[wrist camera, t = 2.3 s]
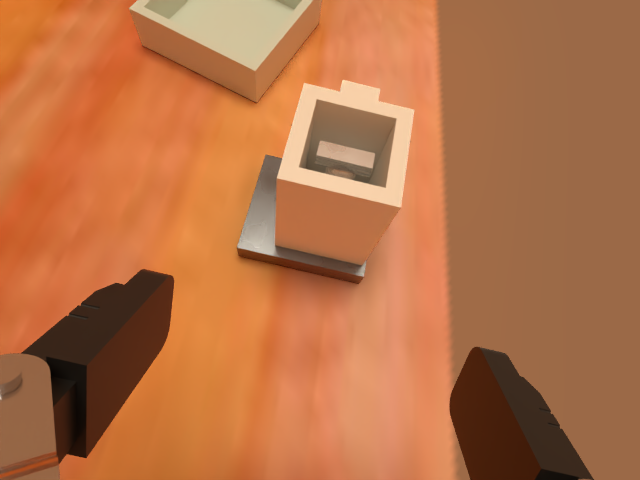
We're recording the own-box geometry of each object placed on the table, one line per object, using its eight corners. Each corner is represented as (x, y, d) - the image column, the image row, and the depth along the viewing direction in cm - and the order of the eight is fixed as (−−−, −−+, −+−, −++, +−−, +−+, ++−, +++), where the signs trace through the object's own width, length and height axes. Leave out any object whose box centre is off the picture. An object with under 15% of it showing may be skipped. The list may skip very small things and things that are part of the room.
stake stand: (238, 255, 26) (225, 191, 18) (265, 166, 29) (264, 77, 21) (358, 283, 26) (396, 231, 18) (374, 192, 29) (413, 113, 21)
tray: (142, 45, 31) (128, 8, 28) (215, -27, 35) (211, -65, 33) (256, 102, 31) (255, 70, 28) (318, 23, 35) (323, -13, 32)
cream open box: (274, 245, 25) (276, 178, 17) (298, 155, 27) (309, 65, 20) (362, 265, 25) (400, 207, 18) (377, 174, 28) (416, 91, 20)
